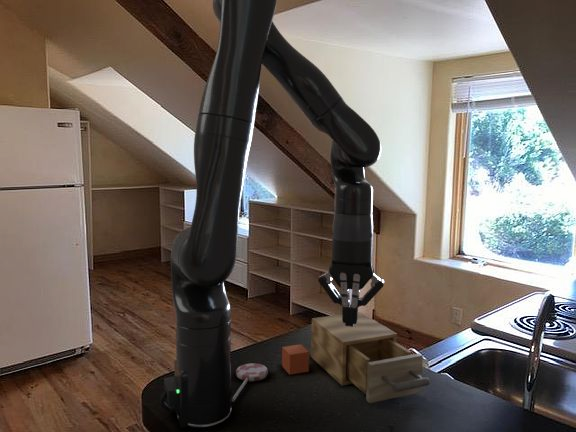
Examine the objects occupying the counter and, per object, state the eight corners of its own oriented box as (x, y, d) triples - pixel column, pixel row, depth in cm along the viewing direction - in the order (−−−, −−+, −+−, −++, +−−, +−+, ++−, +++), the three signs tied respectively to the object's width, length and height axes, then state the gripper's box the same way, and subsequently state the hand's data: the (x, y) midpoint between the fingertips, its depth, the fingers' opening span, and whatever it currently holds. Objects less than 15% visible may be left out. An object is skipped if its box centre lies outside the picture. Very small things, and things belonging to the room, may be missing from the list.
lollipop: (215, 395, 88) (241, 361, 103) (215, 400, 88) (241, 366, 103) (249, 399, 87) (271, 364, 101) (250, 405, 87) (271, 369, 101)
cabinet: (395, 375, 100) (397, 333, 98) (341, 385, 95) (343, 342, 94) (359, 349, 113) (360, 311, 112) (310, 357, 108) (311, 318, 107)
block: (289, 374, 99) (289, 354, 99) (281, 366, 103) (282, 346, 103) (308, 371, 101) (309, 351, 100) (300, 363, 105) (300, 344, 104)
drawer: (438, 404, 86) (440, 366, 85) (384, 417, 82) (386, 376, 81) (381, 363, 103) (382, 331, 102) (334, 371, 99) (335, 338, 98)
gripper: (389, 235, 92) (385, 322, 94) (321, 231, 95) (319, 315, 97) (387, 241, 85) (383, 335, 87) (314, 237, 88) (312, 328, 90)
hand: (349, 325), depth 92 cm, fingers closed
